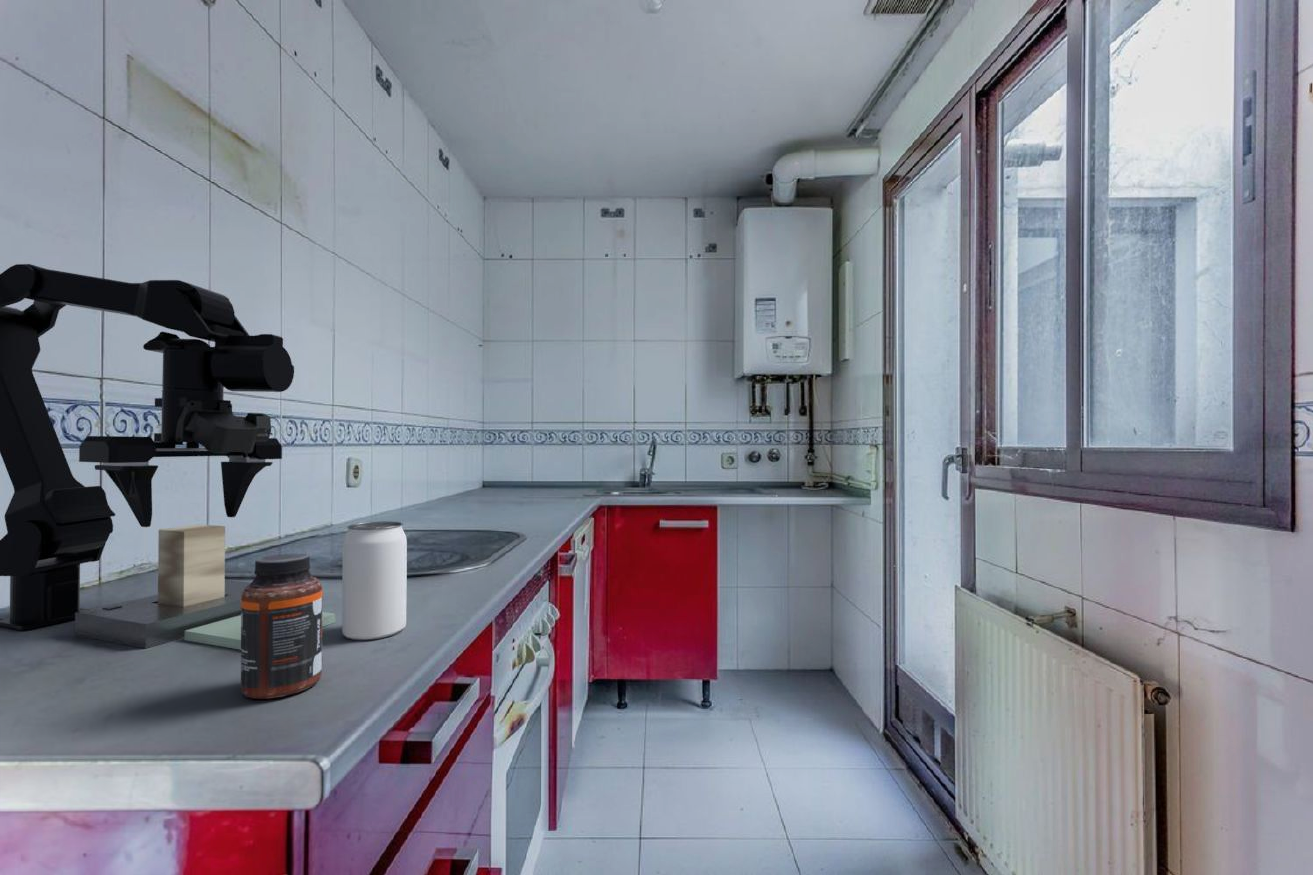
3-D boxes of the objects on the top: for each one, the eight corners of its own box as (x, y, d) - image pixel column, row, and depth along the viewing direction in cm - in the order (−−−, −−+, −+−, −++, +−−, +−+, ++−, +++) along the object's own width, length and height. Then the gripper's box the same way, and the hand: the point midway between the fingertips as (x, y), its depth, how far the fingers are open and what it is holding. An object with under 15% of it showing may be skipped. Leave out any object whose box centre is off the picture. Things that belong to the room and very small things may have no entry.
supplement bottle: (338, 678, 52) (338, 552, 52) (274, 707, 46) (276, 566, 46) (289, 669, 54) (290, 548, 54) (223, 696, 48) (224, 560, 48)
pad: (184, 640, 61) (184, 630, 61) (274, 613, 71) (274, 605, 71) (250, 651, 58) (250, 641, 58) (335, 622, 68) (335, 613, 68)
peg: (157, 623, 67) (158, 529, 67) (199, 612, 71) (200, 524, 71) (183, 627, 66) (184, 531, 66) (224, 616, 70) (225, 526, 70)
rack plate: (75, 635, 63) (75, 611, 63) (226, 597, 78) (226, 578, 78) (145, 648, 59) (145, 623, 59) (290, 606, 74) (290, 586, 74)
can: (380, 643, 61) (381, 529, 61) (328, 639, 62) (328, 528, 62) (418, 624, 67) (418, 521, 67) (369, 621, 68) (370, 520, 68)
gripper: (144, 381, 57) (140, 538, 57) (313, 396, 75) (311, 516, 74) (77, 383, 61) (74, 531, 61) (253, 397, 78) (251, 511, 78)
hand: (191, 521), depth 68 cm, fingers open, 9 cm apart
